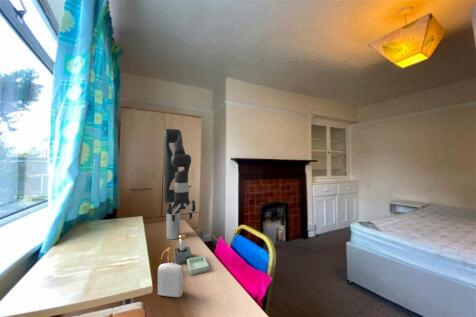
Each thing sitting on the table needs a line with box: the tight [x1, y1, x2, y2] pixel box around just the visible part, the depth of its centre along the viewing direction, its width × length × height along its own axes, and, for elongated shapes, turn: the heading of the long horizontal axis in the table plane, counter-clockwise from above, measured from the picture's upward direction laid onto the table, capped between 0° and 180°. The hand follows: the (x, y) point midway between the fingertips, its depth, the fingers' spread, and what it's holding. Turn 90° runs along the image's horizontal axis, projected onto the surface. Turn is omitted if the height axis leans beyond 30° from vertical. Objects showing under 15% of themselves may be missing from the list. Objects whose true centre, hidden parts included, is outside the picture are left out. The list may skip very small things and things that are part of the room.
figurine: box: [160, 246, 179, 263], centre depth 96 cm, size 8×6×12 cm
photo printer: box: [157, 262, 184, 298], centre depth 81 cm, size 10×4×12 cm, turn 81°
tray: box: [186, 255, 210, 276], centre depth 100 cm, size 11×9×2 cm
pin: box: [178, 233, 187, 253], centre depth 108 cm, size 4×4×13 cm
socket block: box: [173, 245, 192, 265], centre depth 108 cm, size 8×8×5 cm
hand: (182, 220), depth 108 cm, fingers open, 8 cm apart
